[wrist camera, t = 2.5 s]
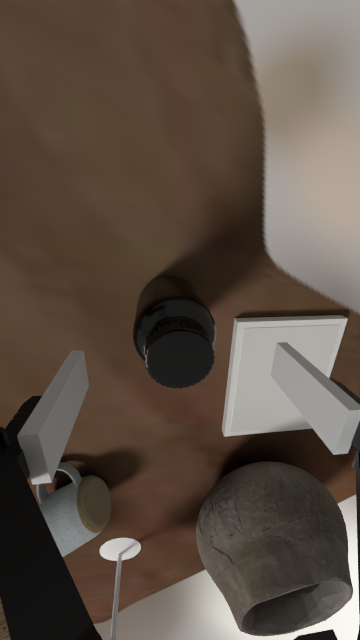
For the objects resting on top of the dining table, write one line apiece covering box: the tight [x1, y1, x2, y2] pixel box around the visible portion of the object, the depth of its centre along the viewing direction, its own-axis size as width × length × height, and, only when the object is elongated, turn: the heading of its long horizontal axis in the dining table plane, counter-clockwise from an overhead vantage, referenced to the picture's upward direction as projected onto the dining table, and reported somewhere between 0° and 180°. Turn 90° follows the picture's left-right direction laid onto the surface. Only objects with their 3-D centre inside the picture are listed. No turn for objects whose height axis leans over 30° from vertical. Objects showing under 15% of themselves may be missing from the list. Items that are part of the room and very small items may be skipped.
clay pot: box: [196, 461, 353, 636], centre depth 34 cm, size 22×21×15 cm
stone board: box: [222, 315, 348, 436], centre depth 32 cm, size 18×14×1 cm
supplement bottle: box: [133, 276, 216, 388], centre depth 21 cm, size 7×7×12 cm
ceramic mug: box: [37, 462, 112, 557], centre depth 32 cm, size 11×8×8 cm
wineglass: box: [100, 538, 141, 640], centre depth 35 cm, size 8×9×20 cm
